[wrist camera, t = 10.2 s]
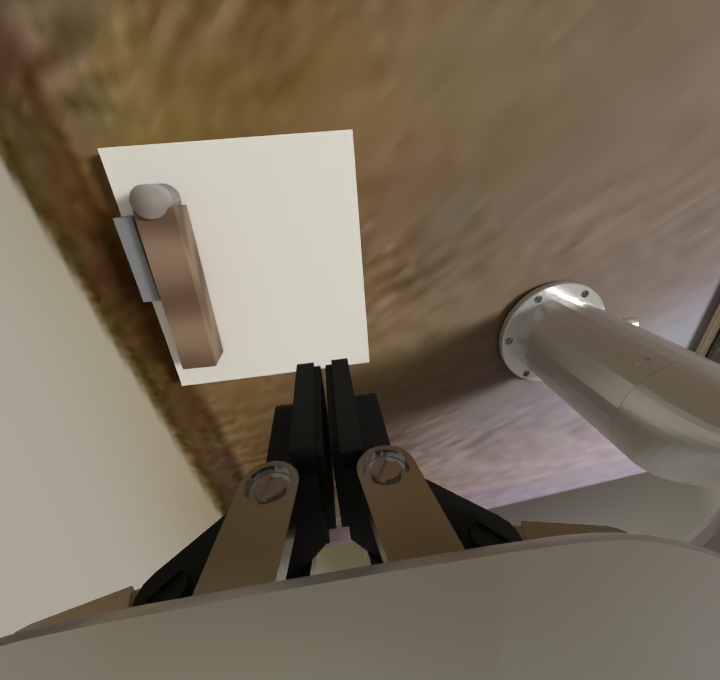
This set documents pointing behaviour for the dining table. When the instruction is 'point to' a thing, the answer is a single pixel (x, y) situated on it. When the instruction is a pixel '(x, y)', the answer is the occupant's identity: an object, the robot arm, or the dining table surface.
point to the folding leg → (177, 273)
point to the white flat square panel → (260, 245)
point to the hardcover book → (711, 339)
